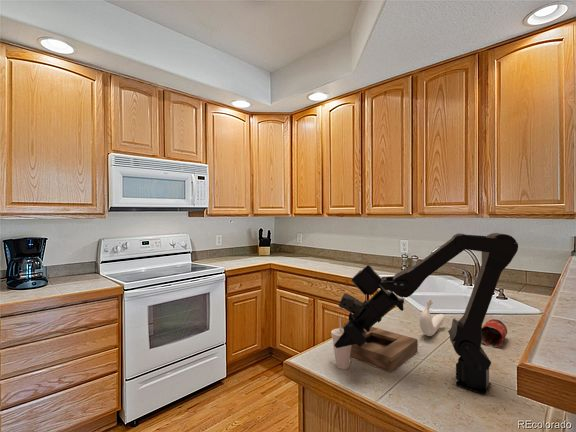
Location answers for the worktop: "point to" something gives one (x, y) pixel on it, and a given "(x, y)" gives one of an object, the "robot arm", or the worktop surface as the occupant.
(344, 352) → the smoothie
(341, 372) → the worktop surface
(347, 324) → the robot arm
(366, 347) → the walnut box
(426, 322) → the white curved piece
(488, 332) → the beverage can
